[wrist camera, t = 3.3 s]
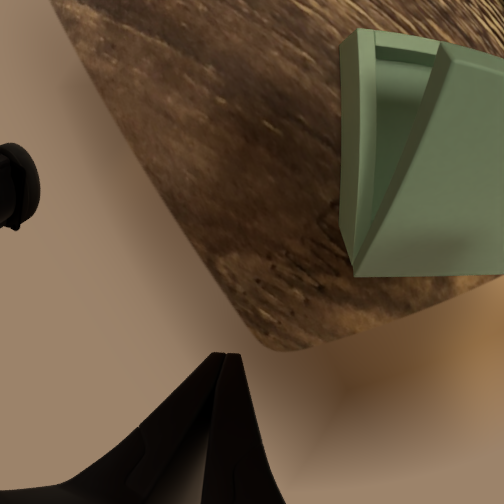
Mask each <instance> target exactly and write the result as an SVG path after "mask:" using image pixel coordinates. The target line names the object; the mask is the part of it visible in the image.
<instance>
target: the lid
mask: <svg viewBox="0 0 504 504" xmlns="http://www.w3.org/2000/svg"><path fill="white" fill-rule="evenodd" d="M493 274H504V59H502V58H500V57H497V56H494V55H491V54H487V53H484V52H481V51H478V50H474V49H471V48H467V47H464V46H460V45H456V44H452V43H448V42H444V41H442V42H440V43H439V47H438V50H437V54H436V57H435V60H434V64H433V67H432V70H431V73H430V76H429V79H428V82H427V85H426V89H425V92H424V94H423V97H422V100H421V103H420V106H419V109H418V112H417V115H416V117H415V120H414V123H413V126H412V128H411V131H410V134H409V136H408V139H407V141H406V144H405V147H404V149H403V152H402V154H401V157H400V159H399V162H398V164H397V167H396V169H395V172H394V174H393V176H392V179H391V181H390V184H389V186H388V188H387V191H386V193H385V195H384V198H383V200H382V202H381V204H380V207H379V209H378V211H377V213H376V216H375V218H374V220H373V222H372V224H371V227H370V229H369V231H368V233H367V235H366V237H365V239H364V241H363V244H362V246H361V248H360V250H359V252H358V254H357V256H356V258H355V260H354V262H353V275H354V277H414V276H460V275H493Z"/></svg>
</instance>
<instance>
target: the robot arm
mask: <svg viewBox="0 0 504 504" xmlns="http://www.w3.org/2000/svg"><path fill="white" fill-rule="evenodd" d="M21 173H22V175H21ZM25 180H26V170H25V168H24V167H22V166H20V165H18V164H16V163H15V162H13V161H11V160H10V159H9V158H7V157H6V156H4V155H2V154H0V228H2V227H3V226H5V225H6V226H8V227H9V228H11V229H12V230H14V231H18V230H19V229H20V225H21V213H22V204H23V195H24V187H25ZM0 504H286V503H285V501H284V499H283V497H282V495H281V493H280V491H279V488H278V487H277V484H276V482H275V479H274V477H273V475H272V472H271V470H270V466H269V463H268V460H267V457H266V453H265V450H264V446H263V444H262V439H261V435H260V431H259V427H258V423H257V419H256V415H255V412H254V407H253V403H252V399H251V395H250V391H249V387H248V383H247V379H246V375H245V371H244V366H243V362H242V358H241V355H240V354H237V353H227V354H225V353H219V352H213V353H211V354H210V355H209V356H208V357H207V358H206V359H205V360H204V361H203V362H202V363H201V364H200V365H199V366H198V367H197V368H196V369H195V370H194V371H193V372H192V373H191V374H190V375H189V376H188V377H187V378H186V380H184V381H183V382H182V383H181V384H180V386H179V387H177V388H176V389H175V390H174V391H173V392H172V393H171V395H170V396H168V397H167V398H166V399H165V401H163V402H162V403H161V404H160V405H159V406H158V407H157V408H156V409H155V410H154V411H153V412H152V413H151V414H150V415H149V416H148V417H147V418H146V419H145V420H144V421H143V422H142V423H141V424H140V425H139V427H137V428H136V429H135V430H133V431H132V432H131V433H130V434H129V435H128V436H127V437H126V438H125V439H124V440H123V441H122V442H120V443H119V444H118V445H117V446H116V447H114V448H113V449H112V450H111V451H109V452H108V453H107V454H106V455H104V456H103V457H102V458H100V459H99V460H97V461H96V462H95V463H93V464H92V465H91V466H89V467H88V468H86V469H85V470H83V471H82V472H80V473H79V474H78V475H76V476H75V477H73V478H71V479H70V480H68V481H66V482H63V483H61V484H57V485H51V486H44V487H36V488H27V489H17V490H3V491H2V490H0Z"/></svg>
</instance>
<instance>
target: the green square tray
mask: <svg viewBox="0 0 504 504" xmlns="http://www.w3.org/2000/svg"><path fill="white" fill-rule="evenodd" d="M440 42H442V41H437V40H432V39H428V38H423V37H417V36H412V35H406V34H400V33H394V32H387V31H379V30H371V29H361V28H357V29H356V30H355V31H354V32H353V33H352V34H350V35H349V36H348V37H347V38H346V39H345V40H344V41H343V42H342V43H341V44H340V45H339V52H340V75H341V181H340V206H339V228H340V231H341V234H342V237H343V240H344V243H345V246H346V249H347V252H348V255H349V258H350V261H351V264H352V265H353V262H354V260H355V258H356V256H357V254H358V252H359V250H360V248H361V246H362V244H363V241H364V239H365V237H366V235H367V233H368V231H369V229H370V227H371V224H372V222H373V220H374V218H375V216H376V213H377V211H378V209H379V207H380V204H381V202H382V200H383V198H384V195H385V193H386V191H387V188H388V186H389V184H390V181H391V179H392V176H393V174H394V172H395V169H396V167H397V164H398V162H399V159H400V157H401V154H402V152H403V149H404V147H405V144H406V141H407V139H408V136H409V134H410V131H411V128H412V126H413V123H414V120H415V117H416V115H417V112H418V109H419V106H420V103H421V100H422V97H423V94H424V92H425V89H426V85H427V82H428V79H429V76H430V73H431V70H432V67H433V64H434V60H435V57H436V54H437V50H438V47H439V43H440Z"/></svg>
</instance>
